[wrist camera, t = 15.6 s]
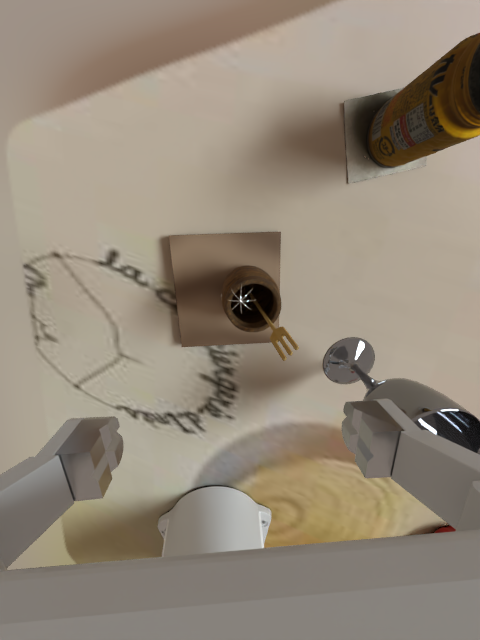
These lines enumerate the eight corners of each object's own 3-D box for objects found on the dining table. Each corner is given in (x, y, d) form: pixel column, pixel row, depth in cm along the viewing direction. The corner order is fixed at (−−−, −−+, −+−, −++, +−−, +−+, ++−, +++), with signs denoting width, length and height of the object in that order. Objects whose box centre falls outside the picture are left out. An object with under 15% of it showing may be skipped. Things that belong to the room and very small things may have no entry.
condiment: (424, 166, 27) (569, 116, 16) (347, 184, 27) (435, 147, 16) (427, 83, 25) (600, -48, 13) (342, 102, 25) (442, -10, 13)
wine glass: (310, 378, 35) (369, 477, 20) (336, 327, 32) (422, 398, 18) (360, 392, 36) (448, 495, 22) (388, 344, 34) (507, 424, 19)
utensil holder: (247, 252, 28) (261, 265, 16) (285, 291, 29) (322, 327, 18) (210, 290, 29) (200, 327, 17) (249, 326, 30) (263, 380, 19)
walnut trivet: (276, 338, 32) (278, 341, 31) (183, 343, 32) (181, 346, 31) (278, 231, 28) (280, 231, 27) (171, 235, 28) (168, 235, 27)
